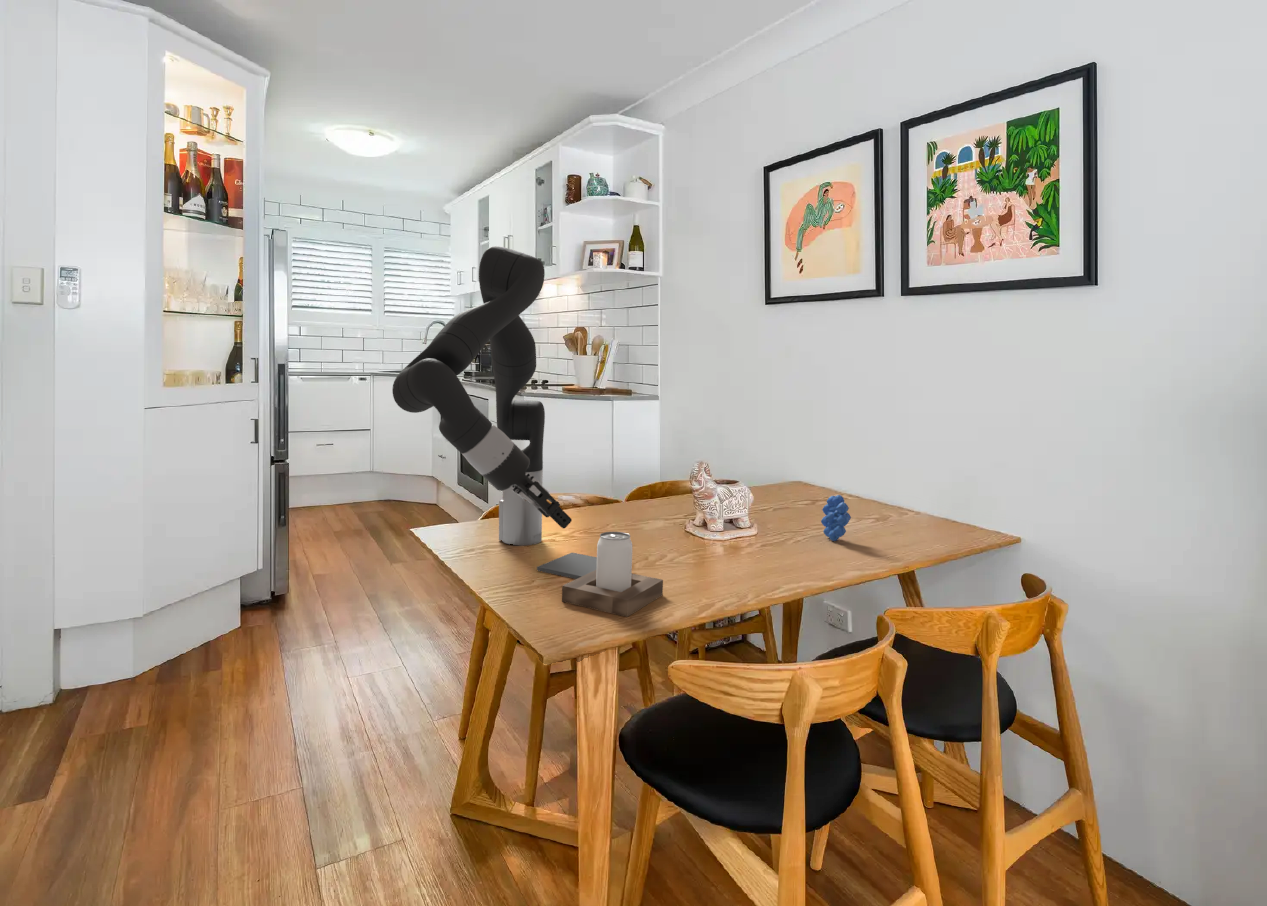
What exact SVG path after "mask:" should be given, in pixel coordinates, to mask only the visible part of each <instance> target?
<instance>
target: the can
mask: <svg viewBox="0 0 1267 906" xmlns="http://www.w3.org/2000/svg"><path fill="white" fill-rule="evenodd" d="M632 542H633V541H632V540H631V534H630V533H628V532H627V533H626V532H623V531H606V532H602V533H600V534H599V539H598V541H597V546H596V557H597V571H596V587H600V588H604V589H609V590H613V591H618V592H623V591H624V590H626V589H628V588H630V587H631V575H632V574H633V573H632V572H633V570H632V569H633V568H632V567H633V543H632Z"/></svg>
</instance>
